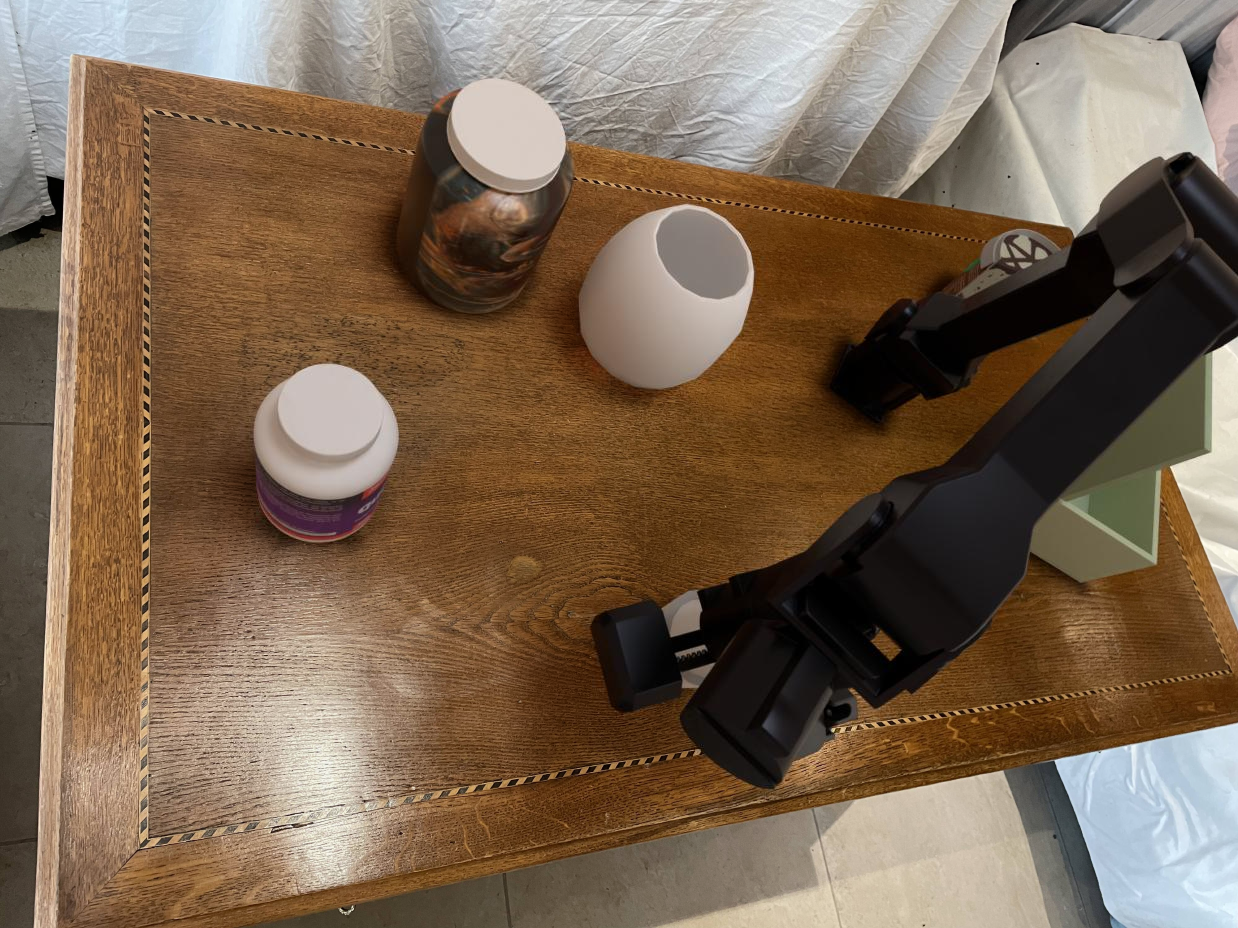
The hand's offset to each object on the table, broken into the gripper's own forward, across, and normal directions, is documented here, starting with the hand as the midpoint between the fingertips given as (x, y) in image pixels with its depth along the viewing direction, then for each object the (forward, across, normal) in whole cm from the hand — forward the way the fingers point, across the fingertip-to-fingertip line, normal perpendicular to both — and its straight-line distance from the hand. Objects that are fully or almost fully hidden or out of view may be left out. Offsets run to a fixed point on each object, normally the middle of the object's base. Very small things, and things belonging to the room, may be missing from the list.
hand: (676, 646), depth 59 cm
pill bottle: (+2, -23, +17) cm, 28 cm away
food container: (+2, +49, +28) cm, 57 cm away
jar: (+2, -8, +36) cm, 37 cm away
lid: (-13, +44, +8) cm, 46 cm away
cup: (+2, +6, +27) cm, 27 cm away
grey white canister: (+2, 0, 0) cm, 2 cm away
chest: (+2, +48, +4) cm, 48 cm away
